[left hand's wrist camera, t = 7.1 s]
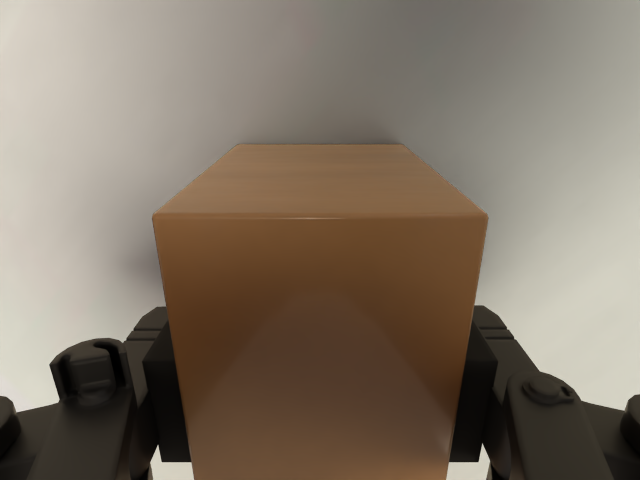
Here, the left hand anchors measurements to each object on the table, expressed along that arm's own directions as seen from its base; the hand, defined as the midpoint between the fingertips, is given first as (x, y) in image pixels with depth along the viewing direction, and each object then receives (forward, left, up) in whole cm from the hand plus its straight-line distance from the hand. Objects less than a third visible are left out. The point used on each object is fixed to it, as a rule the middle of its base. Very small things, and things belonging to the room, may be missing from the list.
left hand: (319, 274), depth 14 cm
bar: (+24, +5, -1) cm, 25 cm away
